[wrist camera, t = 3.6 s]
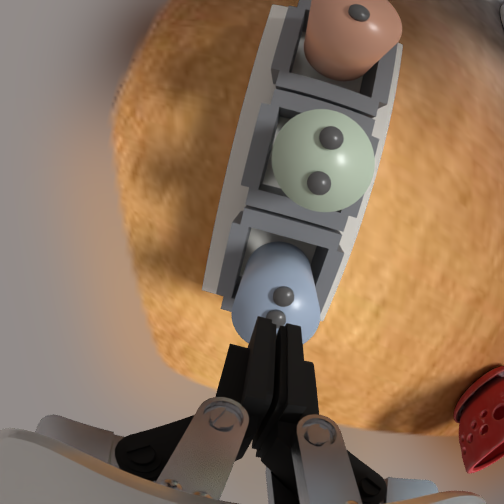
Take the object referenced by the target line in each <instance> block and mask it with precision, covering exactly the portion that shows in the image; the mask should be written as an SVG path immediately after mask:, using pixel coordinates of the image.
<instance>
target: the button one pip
mask: <svg viewBox="0 0 504 504" xmlns="http://www.w3.org/2000/svg"><path fill="white" fill-rule="evenodd" d="M401 35H402V23H401V20H400V17H399V15H398V13H397V11H396V10H395V8H394V7H393V6H392V5H391V3H390V2H389V1H388V0H312V1H311V7H310V12H309V18H308V24H307V29H306V35H305V40H304V54H305V57H306V59H307V61H308V62H309V64H310V65H311V66H312V67H313V68H314V69H315V70H316V71H317V72H318V73H320V74H321V75H323V76H325V77H327V78H330V79H333V80H337V81H351V80H355V79H358V78H360V77H361V76H363V75H364V74H365V73H366V72H367V71H368V70H369V69H370V68H371V67H372V66H373V65H374V64H375V63H376V62H377V61H379V60H380V59H381V58H382V57H383V56H384V55H385V54H386V53H387V52H388V51H389V50H390V49H391V48H392V47H394V46H395V45H396V44H397V43H398V41H399V40H400V38H401Z"/></svg>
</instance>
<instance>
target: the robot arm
mask: <svg viewBox="0 0 504 504" xmlns="http://www.w3.org/2000/svg"><path fill="white" fill-rule="evenodd" d="M500 15H501V20H502V24H503V27H504V4H503V5H502V6H501V8H500ZM276 328H277V325H276V324H273V323H272V319H268V318H264V317H260V316H258V317H257V320H256V323H255V326H254V329H253V333H252V336H251V339H250V342H249V345H248V348H245V347H241V346H237V345H233V344H230V346H229V349H228V353H227V357H226V360H225V364H224V368H223V371H222V375H221V379H220V382H219V386H218V389H217V393H216V397H214V398H210V399H208V400H206V401H204V402H203V403H202V404H201V406H200V407H199V408H198V410H197V412H196V414H195V415H193V416H190V417H187V418H185V419H182V420H178V421H175V422H172V423H170V424H166V425H163V426H160V427H156V428H153V429H150V430H146V431H143V432H139V433H136V434H132V435H129V436H126V437H123V436H118V435H114V432H112V431H108V430H104V429H100V428H97V427H93V426H89V425H86V424H83V423H80V422H77V421H73V420H71V419H68V418H65V417H62V416H58V415H48V416H45V417H44V418H42V419H41V421H40V422H39V424H38V426H37V429H36V431H35V432H31V431H27V430H22V429H15V428H8V429H2V430H0V504H237V503H231V502H225V501H220V500H219V499H220V497H221V494H222V492H223V490H224V487H225V485H226V482H227V480H228V477H229V475H230V472H231V470H232V467H233V464H234V462H235V461H236V460H239V459H241V458H242V457H243V455H244V454H245V452H246V450H247V448H248V447H249V445H250V443H251V441H252V439H253V442H252V448H253V449H257V452H256V457H261V461H262V462H263V463H264V464H265V465H266V481H267V492H268V502H269V504H487V503H486V501H485V500H484V499H483V498H482V497H481V496H480V495H478V494H475V493H472V492H465V491H446V492H438V488H437V486H436V485H435V483H433V482H432V481H429V480H417V479H403V478H392V477H388V478H386V479H383V478H382V477H381V476H380V475H379V474H378V473H376V472H375V471H374V470H372V469H371V468H370V467H368V466H367V465H365V464H364V463H363V462H362V461H360V460H359V459H358V458H356V457H355V456H354V455H353V454H351V453H350V452H349V451H348V450H346V447H345V444H344V440H343V437H342V434H341V431H340V429H339V427H338V425H337V424H336V423H335V422H334V421H333V420H331V419H330V418H328V417H325V416H323V415H319V408H318V398H317V388H316V379H315V370H314V364H313V363H312V362H308V361H304V354H303V343H302V331H301V326H298V325H293V324H289V323H286V325H285V326H280V327H279V330H278V332H277V335H276Z"/></svg>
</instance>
